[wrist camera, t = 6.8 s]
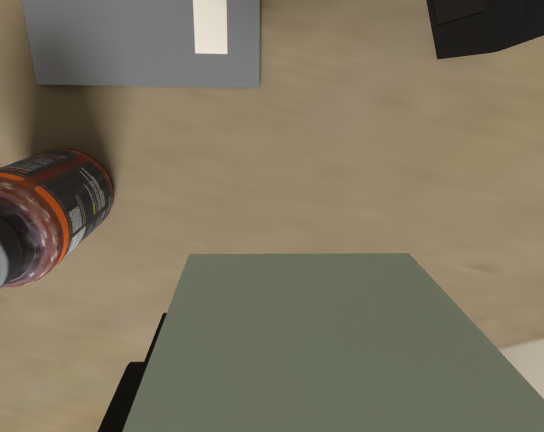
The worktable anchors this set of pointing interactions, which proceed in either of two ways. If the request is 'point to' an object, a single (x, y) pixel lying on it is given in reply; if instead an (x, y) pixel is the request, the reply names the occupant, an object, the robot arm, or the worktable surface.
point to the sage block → (324, 352)
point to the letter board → (145, 42)
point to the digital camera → (483, 25)
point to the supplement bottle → (48, 211)
